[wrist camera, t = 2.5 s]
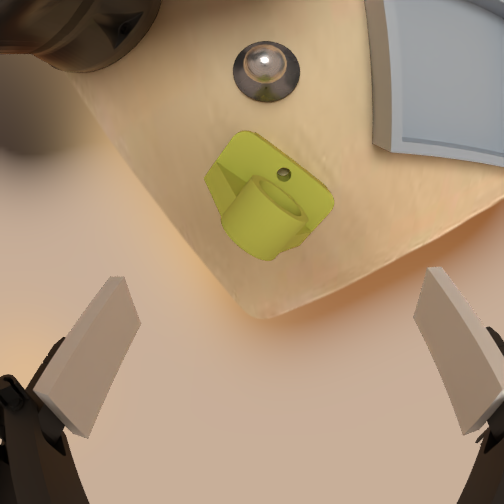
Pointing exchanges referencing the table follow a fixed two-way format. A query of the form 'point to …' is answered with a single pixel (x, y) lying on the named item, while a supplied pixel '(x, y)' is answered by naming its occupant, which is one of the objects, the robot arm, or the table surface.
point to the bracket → (265, 197)
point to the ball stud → (266, 71)
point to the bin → (438, 77)
